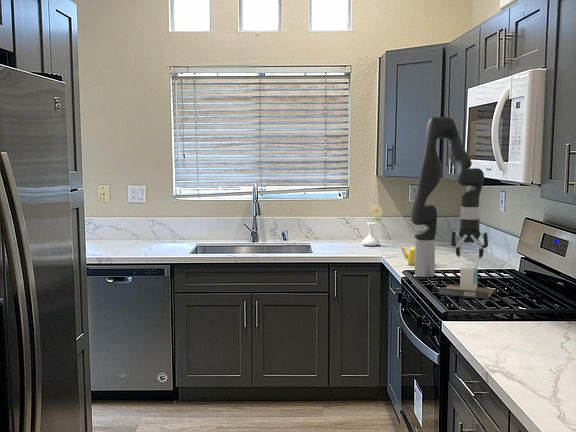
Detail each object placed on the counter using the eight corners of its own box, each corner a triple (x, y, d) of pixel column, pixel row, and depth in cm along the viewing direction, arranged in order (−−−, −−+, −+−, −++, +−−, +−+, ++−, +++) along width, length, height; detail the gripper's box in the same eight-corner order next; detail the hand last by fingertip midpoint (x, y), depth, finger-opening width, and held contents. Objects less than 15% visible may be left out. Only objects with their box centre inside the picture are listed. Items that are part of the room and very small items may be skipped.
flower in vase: (360, 246, 377) (360, 205, 374) (363, 243, 388) (363, 203, 385) (381, 247, 373) (381, 205, 370) (384, 244, 384) (384, 204, 381)
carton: (460, 292, 252) (460, 268, 250) (464, 287, 261) (465, 263, 259) (473, 293, 249) (473, 269, 248) (477, 288, 258) (478, 264, 257)
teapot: (417, 267, 311) (418, 248, 310) (397, 263, 322) (398, 245, 321) (438, 264, 319) (438, 245, 318) (417, 260, 330) (417, 242, 329)
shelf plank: (448, 288, 265) (448, 279, 265) (495, 292, 257) (495, 282, 256) (438, 297, 249) (439, 288, 249) (488, 302, 241) (488, 292, 240)
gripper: (489, 217, 252) (489, 256, 253) (454, 216, 258) (453, 254, 260) (486, 219, 245) (486, 259, 247) (450, 218, 251) (449, 257, 253)
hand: (469, 257), depth 253 cm, fingers open, 8 cm apart
